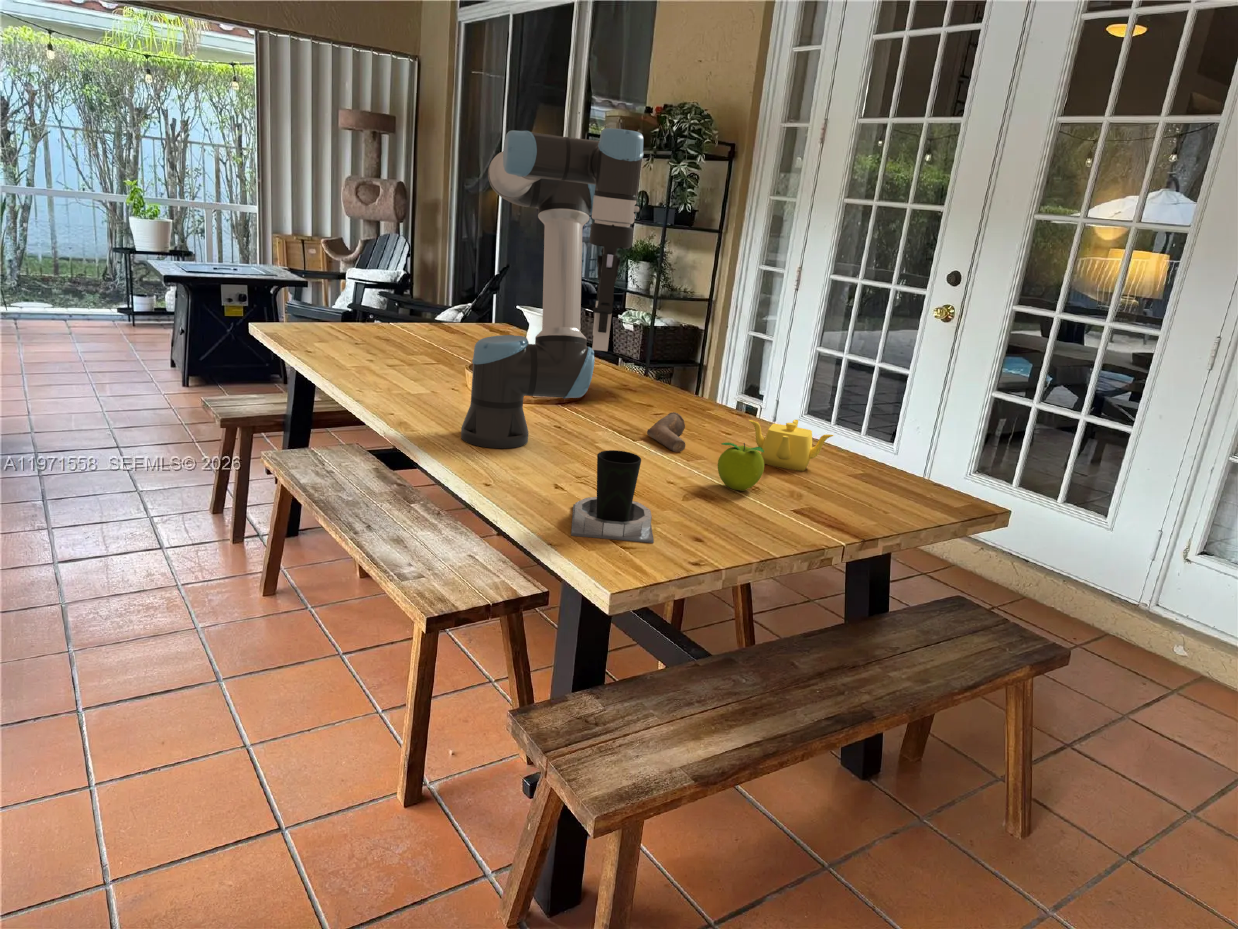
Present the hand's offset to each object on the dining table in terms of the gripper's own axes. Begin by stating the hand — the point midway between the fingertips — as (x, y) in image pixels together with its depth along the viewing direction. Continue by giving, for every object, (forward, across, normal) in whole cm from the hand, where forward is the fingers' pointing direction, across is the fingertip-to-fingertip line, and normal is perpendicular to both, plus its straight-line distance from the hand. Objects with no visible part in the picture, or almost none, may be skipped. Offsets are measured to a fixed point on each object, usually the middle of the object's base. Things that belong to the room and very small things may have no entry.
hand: (599, 342), depth 154 cm
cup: (+28, -16, -5) cm, 33 cm away
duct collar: (+29, -16, -5) cm, 33 cm away
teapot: (+30, +34, -47) cm, 65 cm away
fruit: (+30, +11, -32) cm, 45 cm away
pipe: (+31, +42, -21) cm, 56 cm away
